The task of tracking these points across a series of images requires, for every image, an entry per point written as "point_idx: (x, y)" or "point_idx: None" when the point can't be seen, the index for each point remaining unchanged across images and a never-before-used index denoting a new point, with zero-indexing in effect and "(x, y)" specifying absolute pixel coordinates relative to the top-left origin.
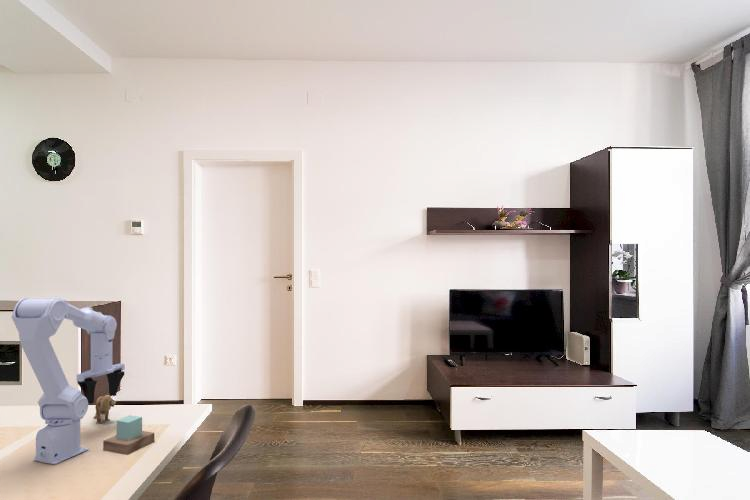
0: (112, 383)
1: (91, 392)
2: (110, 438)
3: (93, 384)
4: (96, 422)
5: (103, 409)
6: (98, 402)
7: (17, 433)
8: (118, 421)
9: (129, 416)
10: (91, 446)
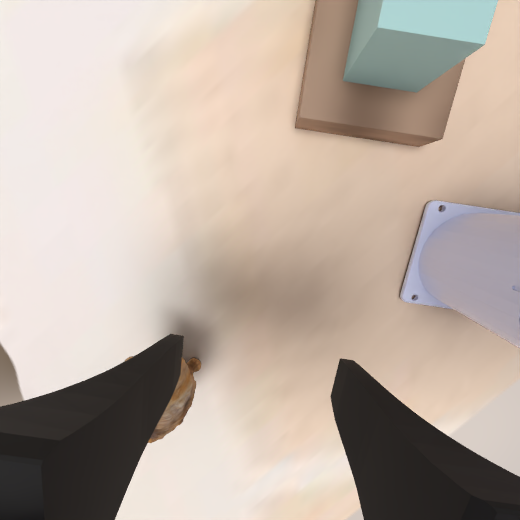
0: (136, 427)
1: (411, 412)
2: (416, 124)
3: (476, 475)
4: (199, 368)
5: (189, 370)
6: (181, 418)
7: (317, 515)
8: (487, 26)
9: (400, 13)
10: (390, 219)
